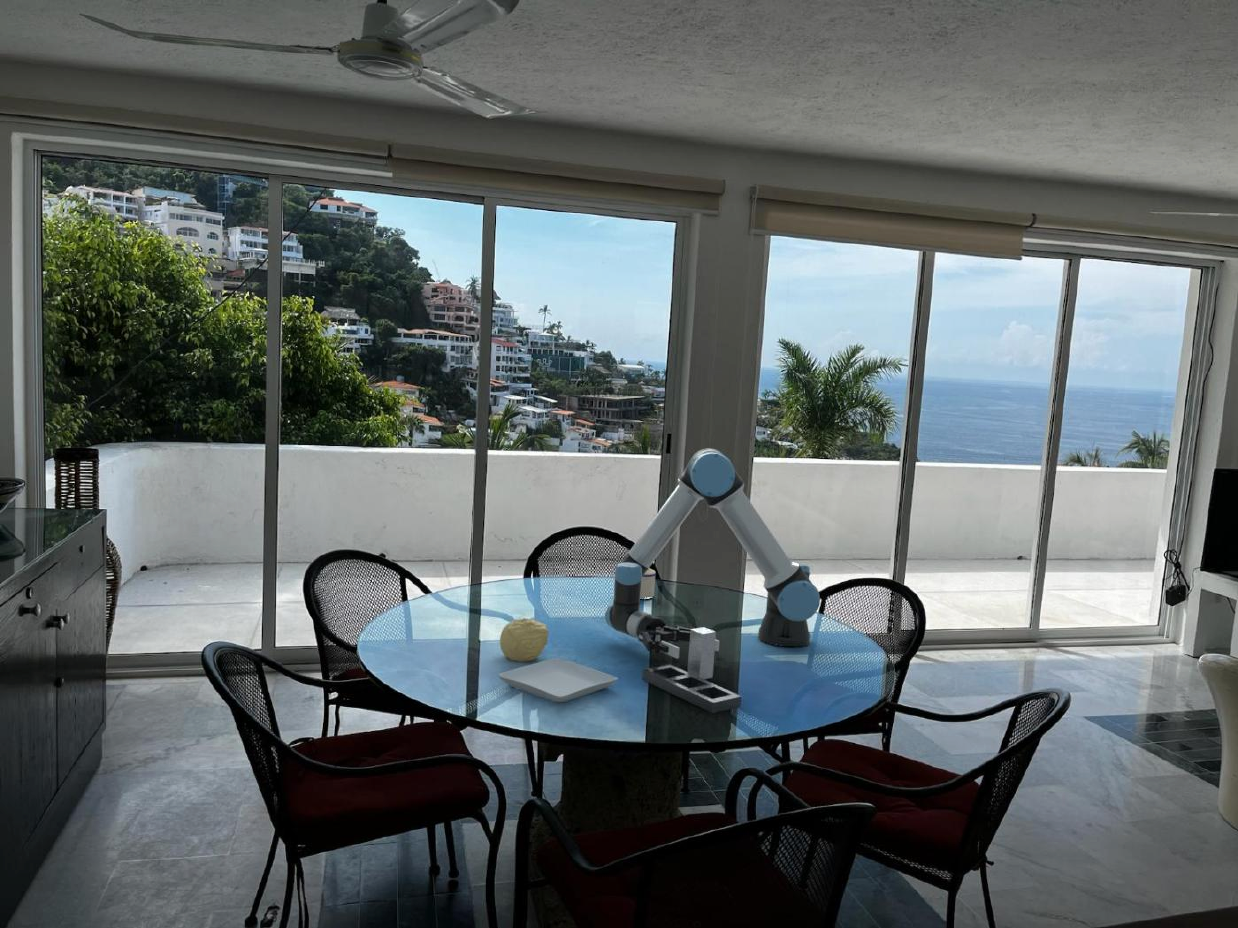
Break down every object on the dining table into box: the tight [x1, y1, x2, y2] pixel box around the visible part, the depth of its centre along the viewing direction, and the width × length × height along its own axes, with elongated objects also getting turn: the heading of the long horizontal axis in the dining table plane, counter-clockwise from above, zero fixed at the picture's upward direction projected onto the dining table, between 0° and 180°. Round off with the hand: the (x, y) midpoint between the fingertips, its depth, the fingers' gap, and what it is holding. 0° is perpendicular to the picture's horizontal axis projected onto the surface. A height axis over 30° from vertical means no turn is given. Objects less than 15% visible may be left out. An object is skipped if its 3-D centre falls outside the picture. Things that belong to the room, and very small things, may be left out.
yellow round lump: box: [499, 617, 549, 663], centre depth 249 cm, size 12×12×11 cm
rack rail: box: [641, 664, 742, 714], centre depth 230 cm, size 9×26×2 cm, turn 37°
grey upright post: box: [686, 626, 717, 680], centre depth 243 cm, size 5×5×12 cm
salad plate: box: [497, 657, 619, 703], centre depth 229 cm, size 21×21×3 cm
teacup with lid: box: [640, 567, 657, 598], centre depth 321 cm, size 12×9×12 cm
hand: (698, 649), depth 243 cm, fingers open, 13 cm apart
